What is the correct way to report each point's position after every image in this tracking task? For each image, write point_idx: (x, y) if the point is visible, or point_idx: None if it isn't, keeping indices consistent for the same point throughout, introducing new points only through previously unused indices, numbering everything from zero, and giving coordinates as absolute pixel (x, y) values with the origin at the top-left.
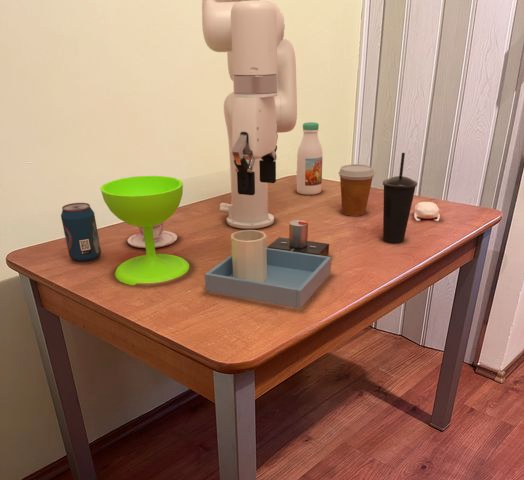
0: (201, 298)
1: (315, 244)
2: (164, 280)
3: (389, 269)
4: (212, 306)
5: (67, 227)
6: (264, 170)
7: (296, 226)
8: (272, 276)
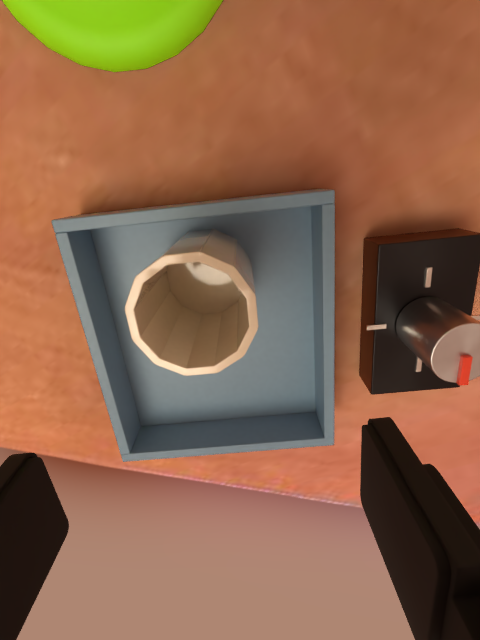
0: None
1: None
2: (45, 38)
3: None
4: (39, 271)
5: None
6: (395, 521)
7: (429, 360)
8: None
